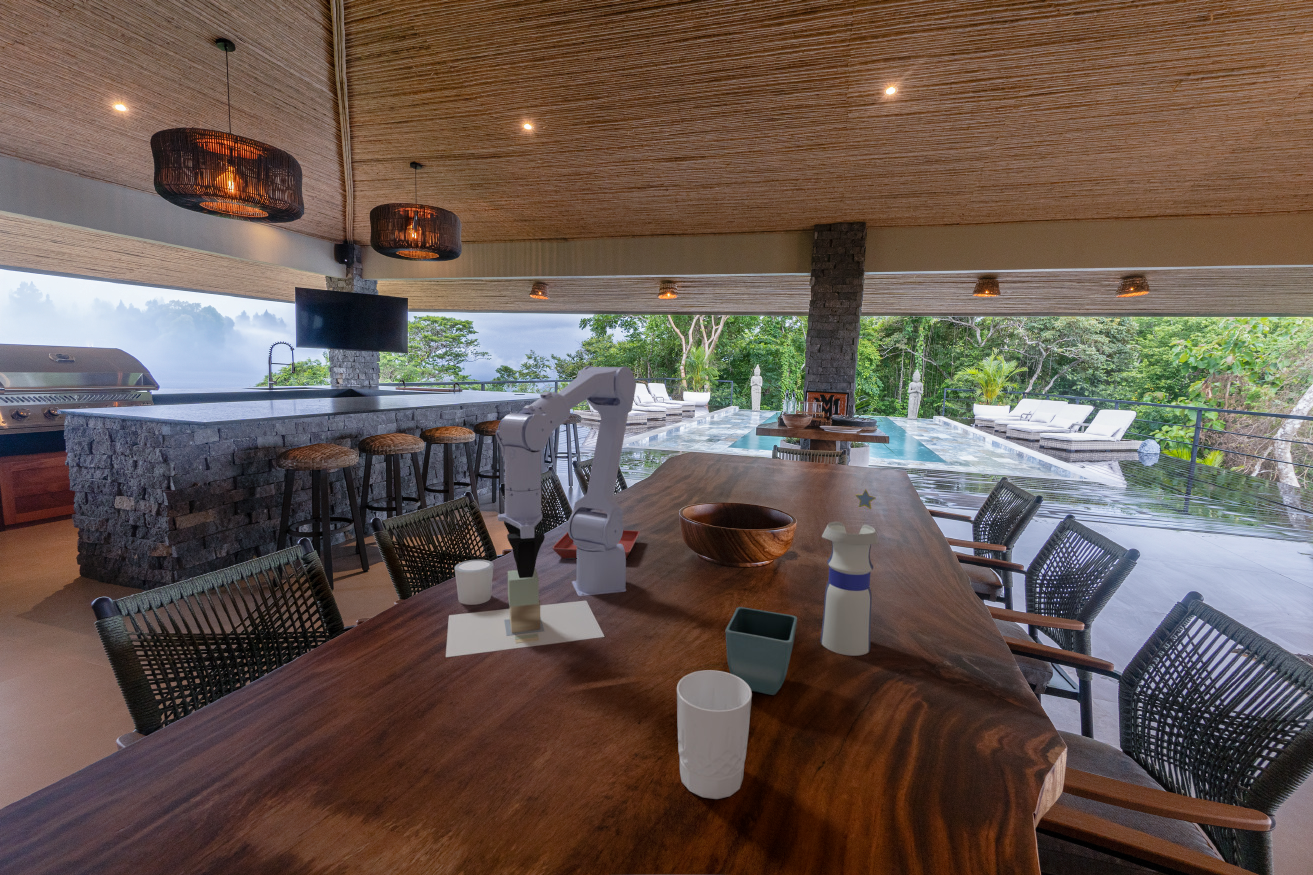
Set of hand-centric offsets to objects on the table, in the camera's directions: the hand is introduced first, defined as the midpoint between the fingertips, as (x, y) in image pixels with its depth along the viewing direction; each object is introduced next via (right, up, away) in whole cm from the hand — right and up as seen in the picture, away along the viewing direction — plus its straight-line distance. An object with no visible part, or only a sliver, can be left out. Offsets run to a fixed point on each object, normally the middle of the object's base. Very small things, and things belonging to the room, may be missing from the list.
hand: (523, 568), depth 94 cm
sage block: (0, -5, +1) cm, 5 cm away
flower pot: (+36, -13, -14) cm, 41 cm away
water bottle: (+52, -12, -1) cm, 54 cm away
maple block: (0, -10, +1) cm, 10 cm away
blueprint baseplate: (0, -10, +1) cm, 10 cm away
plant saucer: (+8, -6, +44) cm, 45 cm away
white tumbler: (-12, -9, +12) cm, 19 cm away
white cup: (+28, -15, -32) cm, 45 cm away
